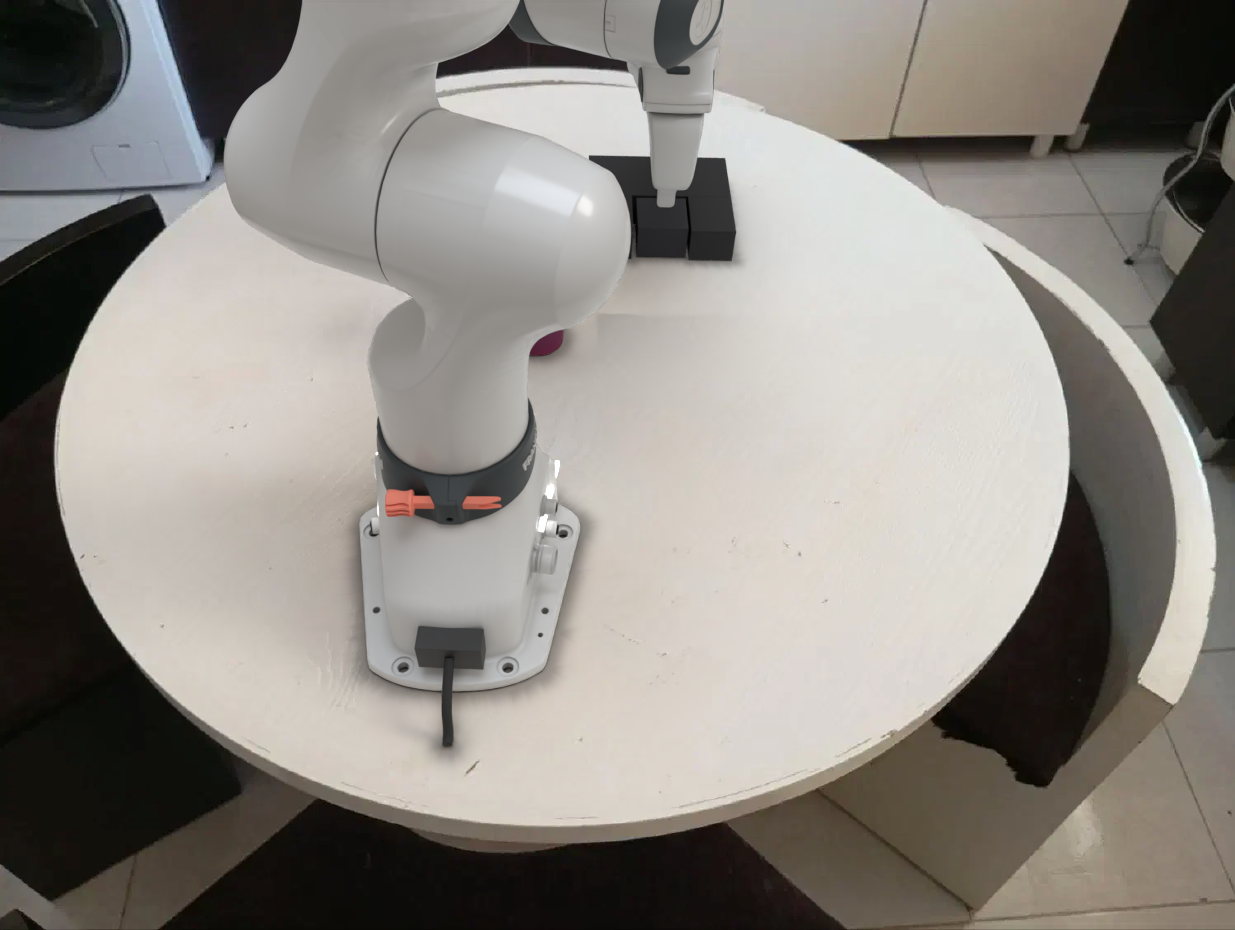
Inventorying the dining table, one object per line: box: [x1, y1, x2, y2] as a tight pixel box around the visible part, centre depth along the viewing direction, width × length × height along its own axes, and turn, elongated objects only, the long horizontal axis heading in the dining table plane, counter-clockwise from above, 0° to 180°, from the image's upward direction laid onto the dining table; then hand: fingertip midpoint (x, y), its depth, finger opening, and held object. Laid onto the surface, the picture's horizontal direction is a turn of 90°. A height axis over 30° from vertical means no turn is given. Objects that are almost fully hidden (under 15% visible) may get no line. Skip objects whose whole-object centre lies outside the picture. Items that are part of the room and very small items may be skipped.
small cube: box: [634, 198, 689, 259], centre depth 110 cm, size 6×6×4 cm
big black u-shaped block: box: [588, 154, 737, 262], centre depth 113 cm, size 14×16×4 cm
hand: (662, 177), depth 105 cm, fingers open, 8 cm apart
